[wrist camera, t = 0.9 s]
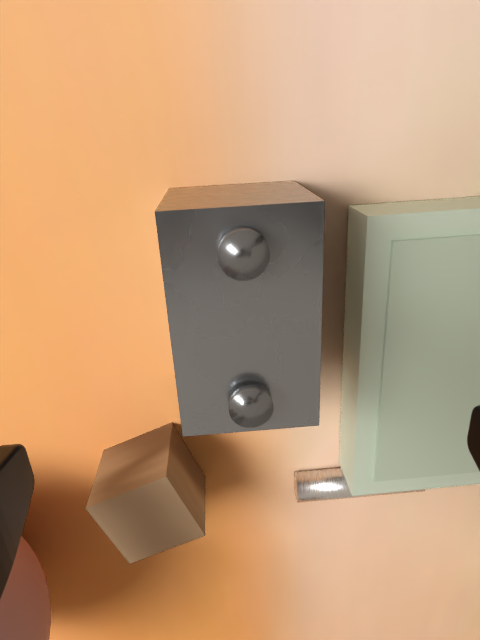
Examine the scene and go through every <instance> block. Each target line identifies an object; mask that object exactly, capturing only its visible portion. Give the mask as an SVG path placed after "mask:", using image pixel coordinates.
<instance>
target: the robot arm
mask: <svg viewBox="0 0 480 640" xmlns="http://www.w3.org/2000/svg"><path fill="white" fill-rule="evenodd" d="M467 445H468V449H469V451H470V454H471V456H472V458H473V459H474V461H475V463H476V465H477V467H478V469H479V471H480V405H478V406H476V407H474V408H473V410H472V413H471V419H470V424H469V430H468V435H467ZM33 490H34V475H33V472H32V468H31V465H30V462H29V458H28V455H27V452H26V449H25V447H24V446H23V445H21V444H13V445H2V446H0V599H1V597H2V594H3V591H4V589H5V586H6V584H7V581H8V578H9V575H10V573H11V570H12V567H13V564H14V561H15V557H16V554H17V550H18V547H19V543H20V539H21V535H22V531H23V528H24V524H25V520H26V516H27V513H28V509H29V505H30V501H31V497H32V494H33Z"/></svg>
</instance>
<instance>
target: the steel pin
mask: <svg viewBox="0 0 480 640" xmlns="http://www.w3.org/2000/svg"><path fill="white" fill-rule="evenodd" d="M425 490H426V489H422V490H411V491H400V492H390V493H379V494H369V495H358V496H352V495H351V492H350V489H349V487H348V484H347V482H346V479H345V477H344V474H343V471H342V469H341V468H332V469H321V470H310V471H298V472H294V491H295V496H296V500H297V503H300V502H311V501H322V500H333V499H343V498H354V497H365V496H376V495H387V494H398V493H408V492H419V491H425Z"/></svg>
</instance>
